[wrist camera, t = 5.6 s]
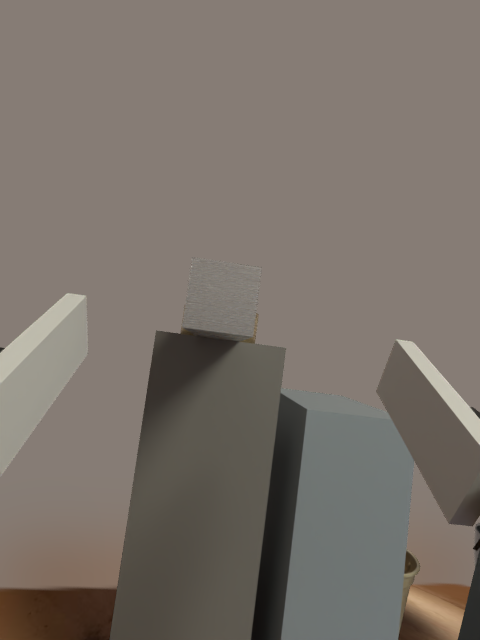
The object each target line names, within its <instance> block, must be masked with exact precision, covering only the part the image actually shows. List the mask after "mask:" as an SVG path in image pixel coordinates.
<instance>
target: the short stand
mask: <svg viewBox="0 0 480 640" xmlns="http://www.w3.org/2000/svg"><path fill="white" fill-rule="evenodd" d="M413 468H414V459H413V458H412V456H411V454H410V452H409V450H408V448H407V447H406V445H405V443H404V441H403V439H402V437H401V436H400V434H399V432H398V430H397V428H396V426H395V425H394V423H393V421H392V419H391V417H390V416H389V414H388V412H386V411H383V410H380V409H377V408H374V407H372V406H368V405H366V404H363V403H360V402H358V401H354V400H352V399H349V398H346V397H343V396H339V395H331V394H323V393H314V392H307V391H299V390H291V389H283V388H281V393H280V401H279V409H278V418H277V426H276V434H275V443H274V451H273V459H272V467H271V476H270V484H269V492H268V501H267V509H266V517H265V525H264V534H263V542H262V550H261V559H260V567H259V575H258V584H257V592H256V600H255V608H254V617H253V625H252V633H251V640H398V637H399V626H400V614H401V603H402V592H403V581H404V569H405V558H406V547H407V535H408V524H409V512H410V502H411V489H412V479H413Z"/></svg>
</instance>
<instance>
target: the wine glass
mask: <svg viewBox="0 0 480 640" xmlns="http://www.w3.org/2000/svg"><path fill="white" fill-rule="evenodd" d="M479 539H480V523H478V524H476V527H475V537H474V546H475V545H476V543H477V542H478V540H479ZM479 550H480V548H479V549H478V551H476V550H474V559H475V567H476V562H477V558H478V554H479Z"/></svg>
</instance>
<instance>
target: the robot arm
mask: <svg viewBox="0 0 480 640" xmlns="http://www.w3.org/2000/svg"><path fill="white" fill-rule="evenodd" d="M86 298H87V296H84V295H76V294H69V293H67V294H66V295H65V296H64V297H63V298H61V299H60V300H59V301H58V302H57V303H56V304H55V305H53V306H52V307H51V308H50V309H49V310H48V311H47V312H46V313H44V314H43V315H42V316H41V317H40V318H39V319H38V320H37V321H35V322H34V323H33V324H32V325H31V326H30V327H29V328H28V329H26V330H25V331H24V332H23V333H22V334H21V335H20V336H19V337H17V338H16V339H15V340H14V341H13V342H12V343H11V344H10V345H9V346H7V347H6V348H0V476H1V475H2V474H3V472H4V471H5V470H6V468H7V467H8V465H9V464H10V463H11V461H12V460H13V458H14V457H15V456H16V454H17V453H18V451H19V450H20V448H21V447H22V446H23V444H24V443H25V441H26V440H27V439H28V437H29V436H30V434H31V433H32V432H33V430H34V429H35V427H36V426H37V425H38V423H39V422H40V420H41V419H42V418H43V416H44V415H45V413H46V412H47V410H48V409H49V407H50V406H51V405H52V403H53V402H54V401H55V399H56V398H57V396H58V395H59V393H60V392H61V391H62V389H63V388H64V387H65V385H66V383H67V382H68V381H69V379H70V378H71V377H72V375H73V374H74V372H75V371H76V370H77V368H78V367H79V365H80V364H81V362H82V361H83V360H84V358H85V357H86V355H87V354H88V341H87V299H86ZM376 392H377V394H378V395H379V397H380V399H381V401H382V403H383V405H384V406H385V408H386V410H387V412H388V414H389V416H390V417H391V419H392V421H393V423H394V425H395V426H396V428H397V430H398V432H399V434H400V436H401V437H402V439H403V441H404V443H405V445H406V447H407V448H408V450H409V452H410V454H411V456H412V458H413V459H414V461H415V463H416V465H417V467H418V468H419V470H420V472H421V474H422V476H423V478H424V479H425V481H426V483H427V485H428V487H429V488H430V490H431V492H432V494H433V496H434V498H435V499H436V501H437V503H438V505H439V507H440V509H441V510H442V512H443V514H444V516H445V518H446V519H447V521H448V523H449V524H456V525H466V526H473V525H474V524H475V522H476V520H477V519H478V517H479V516H480V412H478V411H477V410H476V409H474V408H473V407H469V406H468V405H467V404H466V402H465V401H464V400H463V399H462V398H461V397H460V396H459V394H458V393H457V392H456V391H455V390H454V389H453V387H452V386H451V385H450V384H449V383H448V382H447V380H446V379H445V378H444V377H443V376H442V375H441V374H440V372H439V371H438V370H437V369H436V368H435V367H434V366H433V364H432V363H431V362H430V361H429V360H428V359H427V358H426V356H425V355H424V354H423V353H422V352H421V350H420V349H419V348H418V347H417V346H416V345H415V343H414V342H411V341H404V340H397V339H396V341H395V343H394V346H393V348H392V351H391V354H390V356H389V359H388V362H387V364H386V367H385V369H384V372H383V375H382V377H381V380H380V382H379V385H378V388H377V390H376ZM479 548H480V539H479V540H478V542H477V543H476V545H475V546H474V548H473V549H474V550H476V551H478V549H479ZM458 640H480V550H479V554H478V558H477V562H476V567H475V571H474V575H473V579H472V583H471V587H470V591H469V596H468V600H467V604H466V608H465V612H464V616H463V620H462V625H461V629H460V633H459V637H458Z"/></svg>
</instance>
